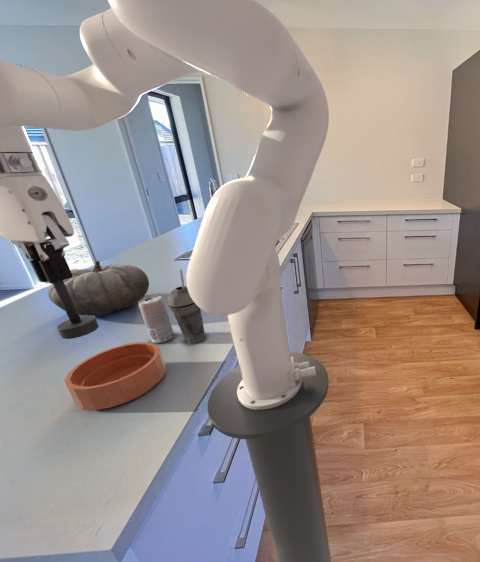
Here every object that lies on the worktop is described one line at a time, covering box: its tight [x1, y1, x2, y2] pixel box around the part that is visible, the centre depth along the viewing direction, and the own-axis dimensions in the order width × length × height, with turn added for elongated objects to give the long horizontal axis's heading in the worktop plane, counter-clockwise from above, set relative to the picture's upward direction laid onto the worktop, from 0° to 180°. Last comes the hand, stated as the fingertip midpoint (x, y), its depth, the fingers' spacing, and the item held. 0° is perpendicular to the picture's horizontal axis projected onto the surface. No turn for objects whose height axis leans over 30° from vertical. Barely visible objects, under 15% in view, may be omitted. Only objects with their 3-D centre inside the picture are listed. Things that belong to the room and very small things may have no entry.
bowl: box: [64, 341, 167, 411], centre depth 65 cm, size 16×16×6 cm
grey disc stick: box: [40, 258, 100, 340], centre depth 53 cm, size 5×5×16 cm
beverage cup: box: [167, 269, 206, 345], centre depth 79 cm, size 7×7×20 cm
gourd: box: [47, 259, 150, 317], centre depth 99 cm, size 25×25×17 cm
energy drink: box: [138, 295, 175, 344], centre depth 81 cm, size 5×5×12 cm
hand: (56, 279), depth 52 cm, fingers closed on grey disc stick, 1 cm apart
